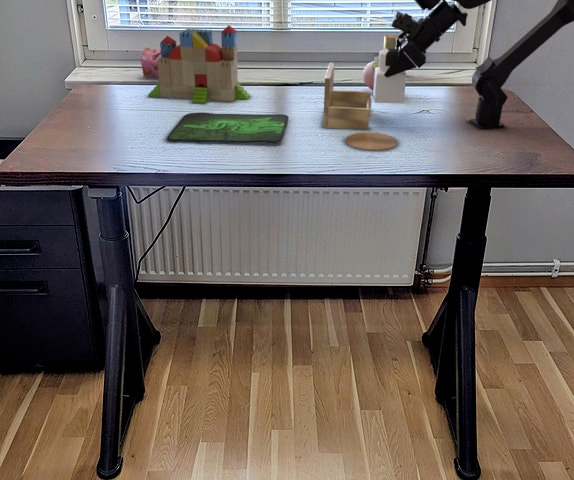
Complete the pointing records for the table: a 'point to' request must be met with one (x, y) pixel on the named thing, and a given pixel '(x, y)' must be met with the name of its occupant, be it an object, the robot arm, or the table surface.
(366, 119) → the spice rack
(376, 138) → the cork coaster
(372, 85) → the decorative fruit
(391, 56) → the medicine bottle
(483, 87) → the robot arm
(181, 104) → the table surface
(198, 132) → the mouse mat
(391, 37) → the shoe polish box
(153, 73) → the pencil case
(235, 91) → the block set
